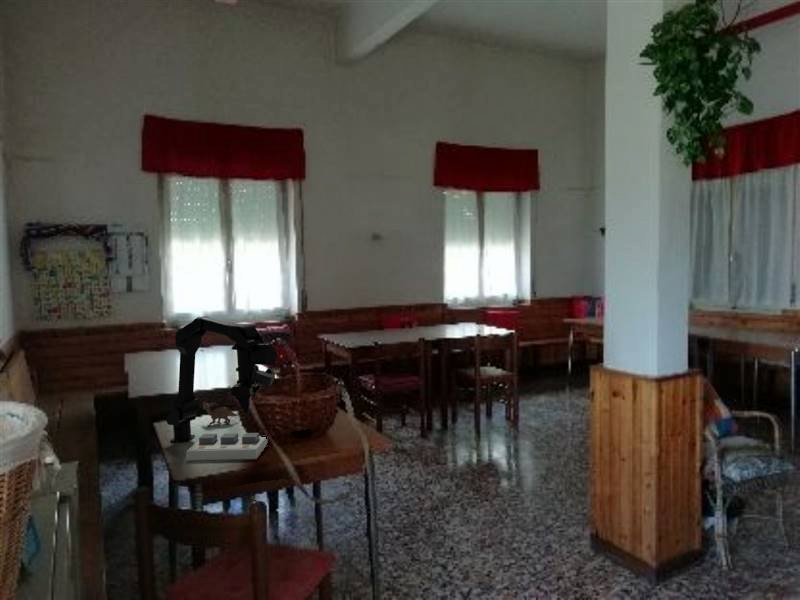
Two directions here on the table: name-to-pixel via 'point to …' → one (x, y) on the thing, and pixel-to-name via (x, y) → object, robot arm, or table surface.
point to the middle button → (229, 438)
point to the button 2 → (250, 438)
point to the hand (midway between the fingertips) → (249, 411)
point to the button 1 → (208, 439)
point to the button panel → (226, 450)
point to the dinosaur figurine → (218, 412)
